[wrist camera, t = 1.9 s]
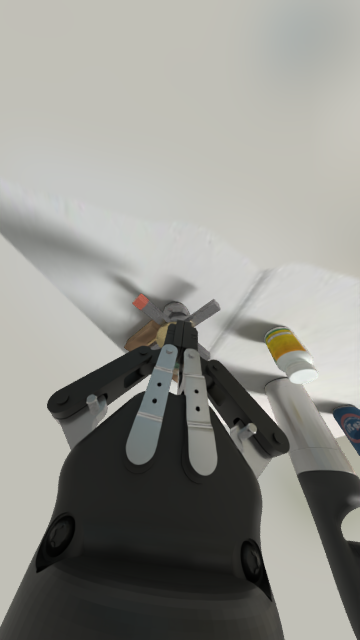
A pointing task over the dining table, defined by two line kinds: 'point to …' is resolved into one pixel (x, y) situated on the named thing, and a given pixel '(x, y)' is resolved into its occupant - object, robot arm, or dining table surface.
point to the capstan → (175, 318)
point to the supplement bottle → (291, 355)
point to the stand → (148, 341)
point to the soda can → (349, 423)
